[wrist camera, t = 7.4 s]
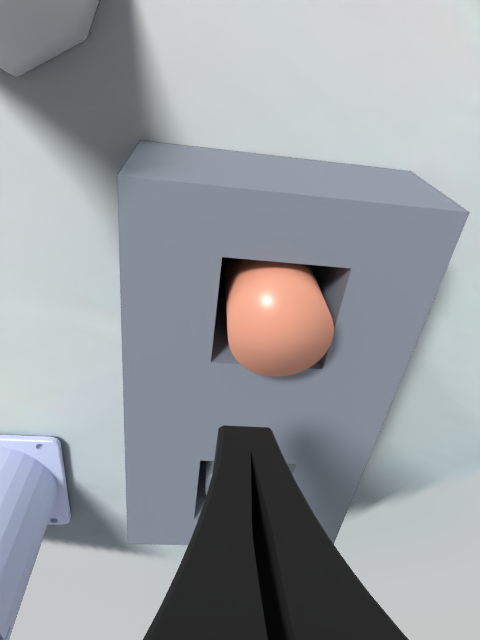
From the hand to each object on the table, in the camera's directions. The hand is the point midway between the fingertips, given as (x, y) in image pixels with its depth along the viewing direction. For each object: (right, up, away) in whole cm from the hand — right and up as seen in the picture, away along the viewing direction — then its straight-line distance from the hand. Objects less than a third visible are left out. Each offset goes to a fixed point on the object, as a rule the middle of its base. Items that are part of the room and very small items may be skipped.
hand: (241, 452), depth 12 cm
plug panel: (0, +2, +11) cm, 11 cm away
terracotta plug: (+1, +5, +7) cm, 9 cm away
